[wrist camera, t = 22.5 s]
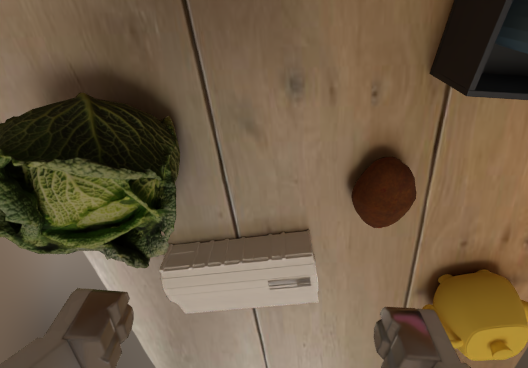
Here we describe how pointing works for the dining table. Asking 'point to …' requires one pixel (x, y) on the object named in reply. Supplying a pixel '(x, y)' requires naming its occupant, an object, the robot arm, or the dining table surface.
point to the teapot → (481, 315)
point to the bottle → (515, 27)
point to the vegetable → (89, 180)
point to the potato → (384, 192)
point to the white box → (241, 273)
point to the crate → (480, 53)
